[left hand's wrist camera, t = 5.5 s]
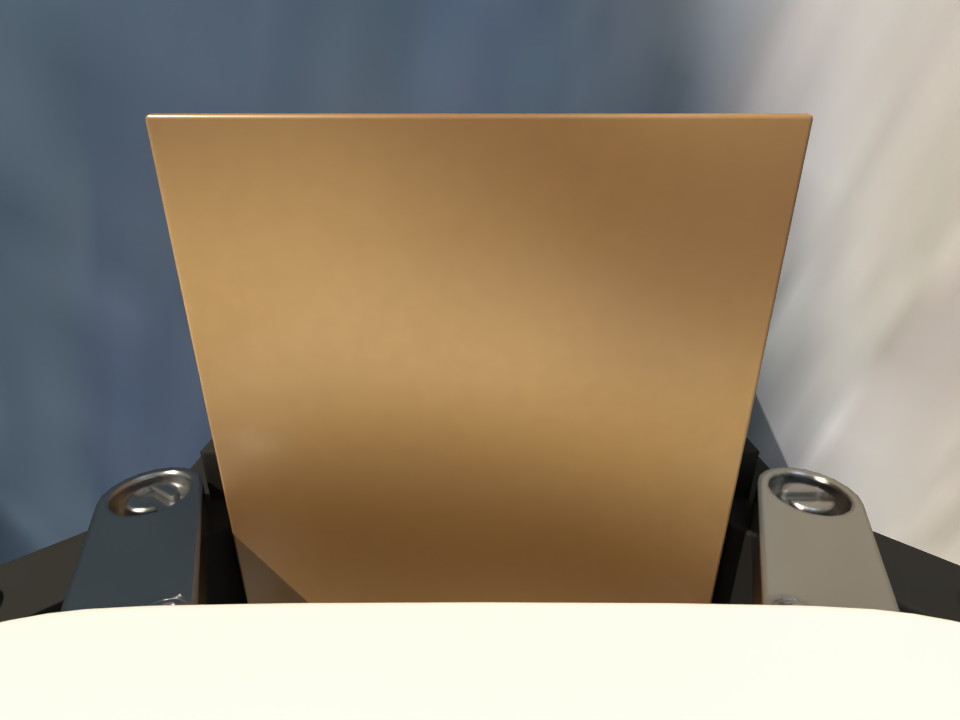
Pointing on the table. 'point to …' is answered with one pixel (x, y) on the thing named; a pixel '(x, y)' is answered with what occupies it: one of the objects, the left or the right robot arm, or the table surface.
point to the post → (479, 343)
